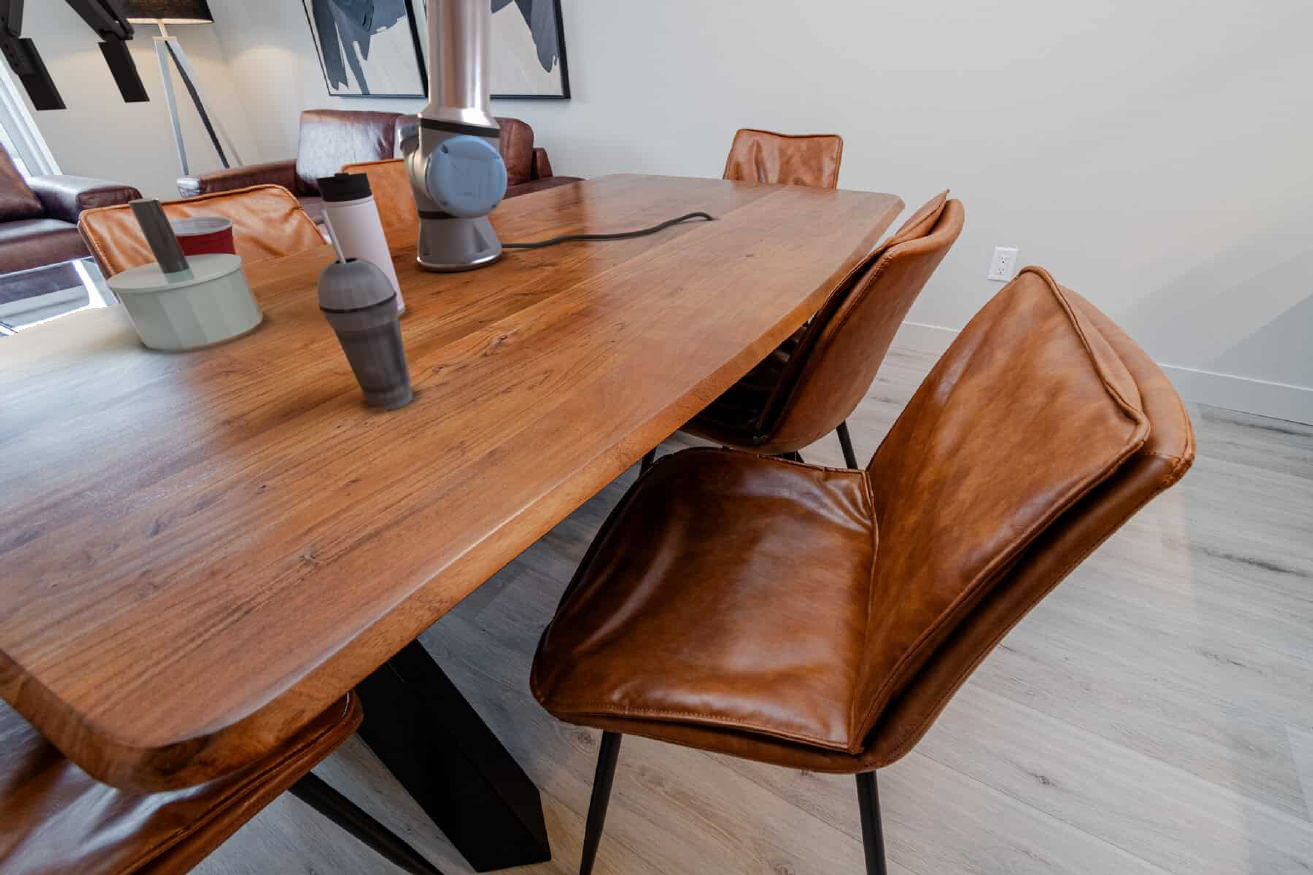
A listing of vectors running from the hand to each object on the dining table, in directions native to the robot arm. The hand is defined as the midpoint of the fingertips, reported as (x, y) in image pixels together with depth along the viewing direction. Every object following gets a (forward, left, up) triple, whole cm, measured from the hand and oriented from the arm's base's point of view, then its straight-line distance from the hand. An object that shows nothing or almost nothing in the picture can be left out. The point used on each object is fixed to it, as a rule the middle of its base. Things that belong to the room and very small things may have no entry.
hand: (98, 106), depth 71 cm
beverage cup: (-35, +25, -29) cm, 52 cm away
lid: (0, 0, -20) cm, 20 cm away
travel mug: (-25, -2, -29) cm, 38 cm away
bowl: (0, 0, -29) cm, 29 cm away
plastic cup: (+7, -17, -29) cm, 34 cm away
